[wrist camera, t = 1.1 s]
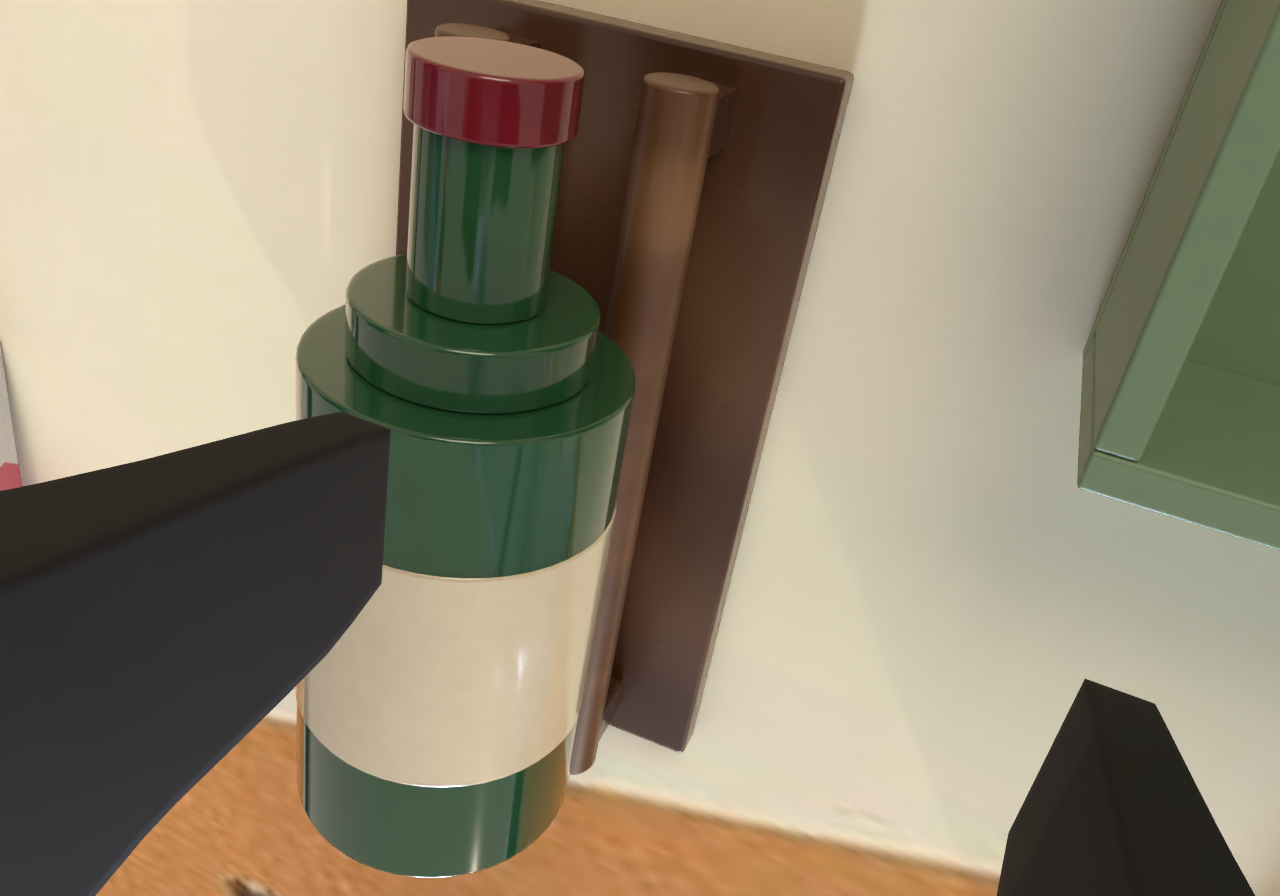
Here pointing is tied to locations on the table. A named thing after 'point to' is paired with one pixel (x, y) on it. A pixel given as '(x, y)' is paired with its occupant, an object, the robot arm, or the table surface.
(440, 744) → the bottle
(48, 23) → the table surface
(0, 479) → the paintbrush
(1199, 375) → the basket
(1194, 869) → the robot arm
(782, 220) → the rack
